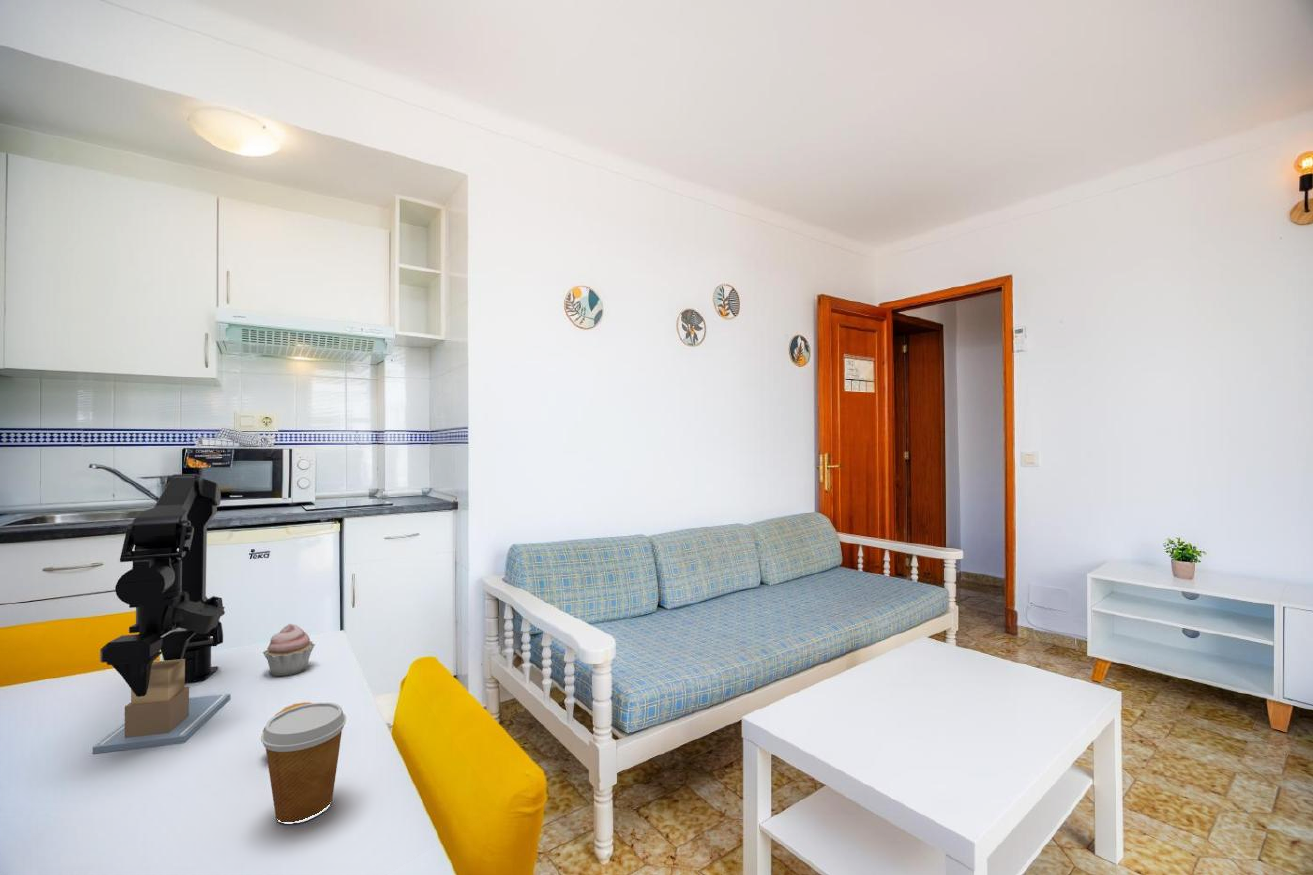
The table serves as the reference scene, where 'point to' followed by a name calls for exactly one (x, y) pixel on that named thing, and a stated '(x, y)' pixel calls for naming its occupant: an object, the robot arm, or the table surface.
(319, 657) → the table surface
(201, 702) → the blueprint board
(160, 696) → the oak cube
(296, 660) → the cupcake
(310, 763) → the disposable coffee cup
